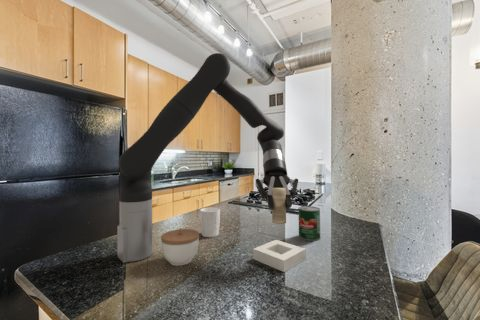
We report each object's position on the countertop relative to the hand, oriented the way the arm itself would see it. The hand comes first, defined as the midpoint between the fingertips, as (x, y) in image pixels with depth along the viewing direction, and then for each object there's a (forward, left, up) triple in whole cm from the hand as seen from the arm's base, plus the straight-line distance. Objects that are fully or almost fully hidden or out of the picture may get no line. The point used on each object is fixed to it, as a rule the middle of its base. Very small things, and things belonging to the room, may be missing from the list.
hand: (280, 208), depth 64 cm
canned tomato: (+25, +5, -16) cm, 30 cm away
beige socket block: (+1, +1, -15) cm, 16 cm away
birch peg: (+1, +1, -5) cm, 5 cm away
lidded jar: (-20, +21, -16) cm, 33 cm away
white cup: (0, +34, -16) cm, 37 cm away
